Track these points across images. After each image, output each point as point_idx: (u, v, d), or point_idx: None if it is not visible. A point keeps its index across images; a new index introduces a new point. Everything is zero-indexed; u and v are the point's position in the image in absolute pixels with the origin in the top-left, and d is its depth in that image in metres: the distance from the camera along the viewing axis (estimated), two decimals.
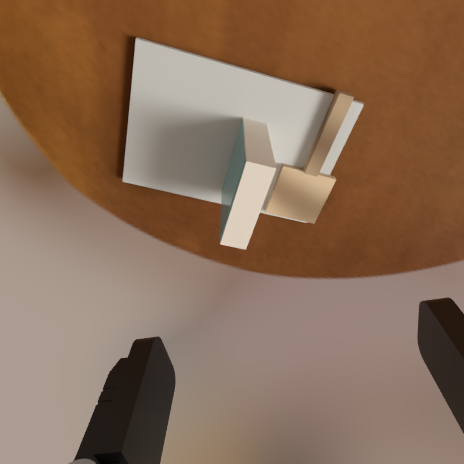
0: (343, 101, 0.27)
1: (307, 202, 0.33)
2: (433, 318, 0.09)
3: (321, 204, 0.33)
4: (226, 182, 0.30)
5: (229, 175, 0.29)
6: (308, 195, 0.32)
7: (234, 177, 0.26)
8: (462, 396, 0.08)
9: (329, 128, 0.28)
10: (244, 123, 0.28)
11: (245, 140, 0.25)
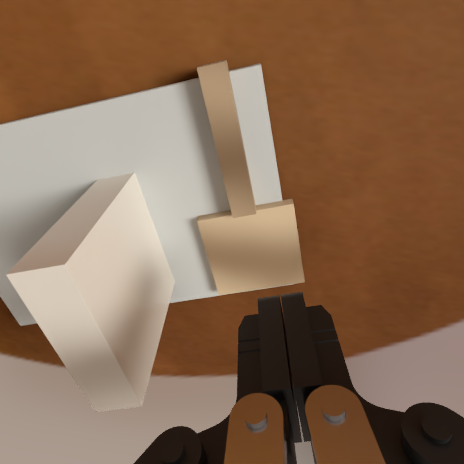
0: (212, 78, 0.14)
1: (272, 256, 0.19)
2: None
3: (296, 250, 0.19)
4: None
5: None
6: (265, 245, 0.19)
7: None
8: None
9: (221, 132, 0.16)
10: (89, 189, 0.17)
11: (57, 223, 0.14)
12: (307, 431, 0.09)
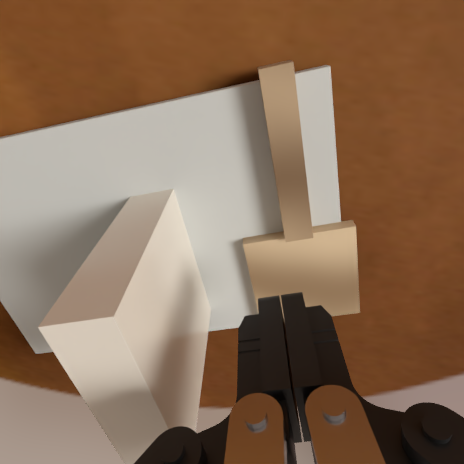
0: (276, 81, 0.12)
1: (325, 284, 0.17)
2: None
3: (353, 277, 0.17)
4: None
5: None
6: (319, 272, 0.17)
7: None
8: None
9: (280, 145, 0.13)
10: (123, 208, 0.15)
11: (92, 252, 0.12)
12: (307, 431, 0.09)
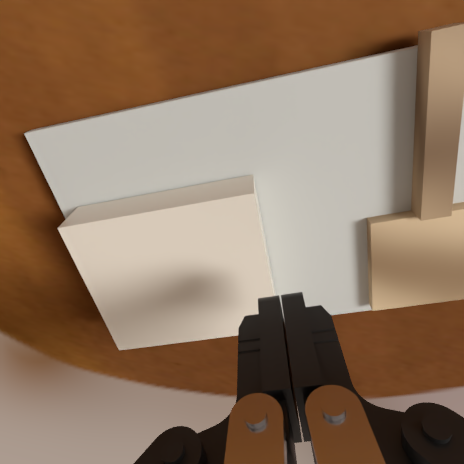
0: (448, 44, 0.12)
1: (449, 267, 0.16)
2: None
3: None
4: None
5: None
6: (445, 254, 0.16)
7: None
8: None
9: (438, 114, 0.13)
10: (223, 180, 0.15)
11: (149, 194, 0.15)
12: (307, 431, 0.09)
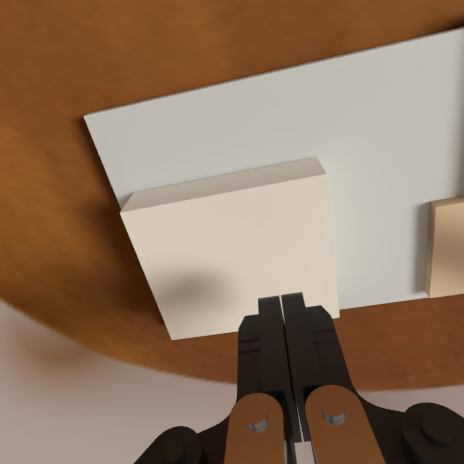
0: None
1: None
2: None
3: None
4: None
5: None
6: None
7: None
8: None
9: None
10: (286, 163, 0.15)
11: (208, 179, 0.15)
12: (307, 431, 0.09)
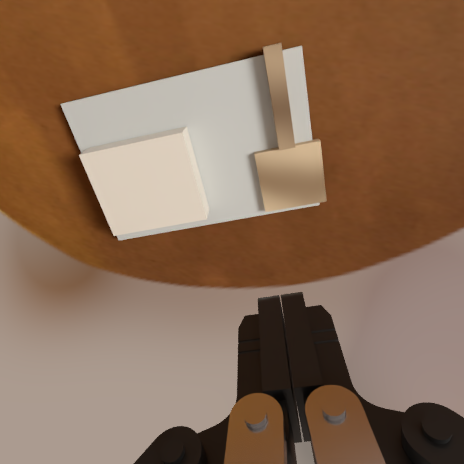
0: (272, 53, 0.23)
1: (304, 181, 0.28)
2: None
3: (321, 176, 0.28)
4: None
5: None
6: (300, 172, 0.28)
7: None
8: None
9: (275, 89, 0.24)
10: (170, 130, 0.27)
11: (129, 139, 0.27)
12: (307, 431, 0.09)
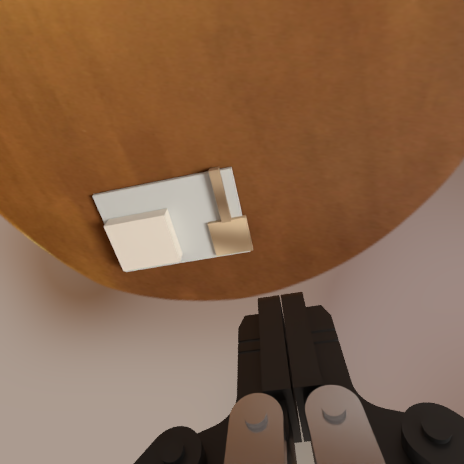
0: (214, 174, 0.42)
1: (238, 239, 0.46)
2: None
3: (248, 236, 0.46)
4: None
5: None
6: (235, 234, 0.46)
7: None
8: None
9: (217, 191, 0.43)
10: (157, 210, 0.45)
11: None
12: (307, 431, 0.09)
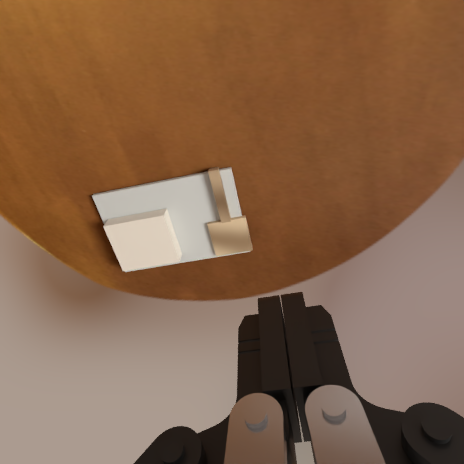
0: (213, 174, 0.42)
1: (238, 239, 0.46)
2: None
3: (247, 236, 0.46)
4: None
5: None
6: (235, 234, 0.46)
7: None
8: None
9: (216, 192, 0.43)
10: (157, 210, 0.45)
11: (133, 215, 0.46)
12: (307, 431, 0.09)
